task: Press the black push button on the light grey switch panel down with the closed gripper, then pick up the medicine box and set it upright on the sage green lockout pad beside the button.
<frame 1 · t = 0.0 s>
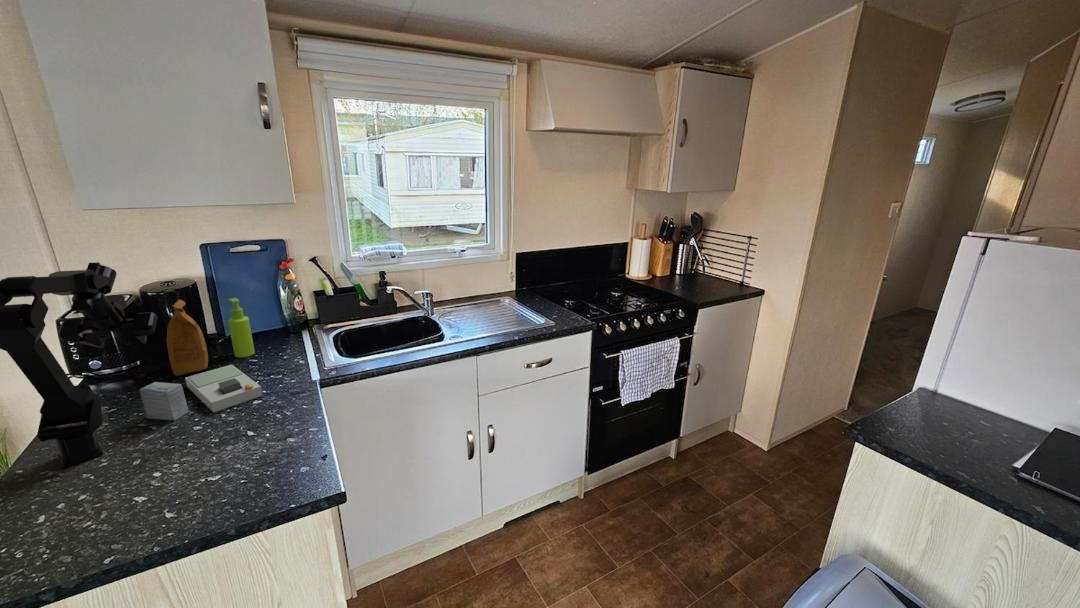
hand: (124, 344, 121), 15 cm above the worktop, tool tilted 35°, fingers open, 9 cm apart
switch panel: (224, 391, 127), on the worktop
soap dispenser: (244, 354, 152), on the worktop
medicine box: (168, 416, 114), on the worktop
amber trigger bottle: (192, 368, 141), on the worktop
push button: (230, 387, 123), point 3 cm above the worktop, slide at 0.0 cm
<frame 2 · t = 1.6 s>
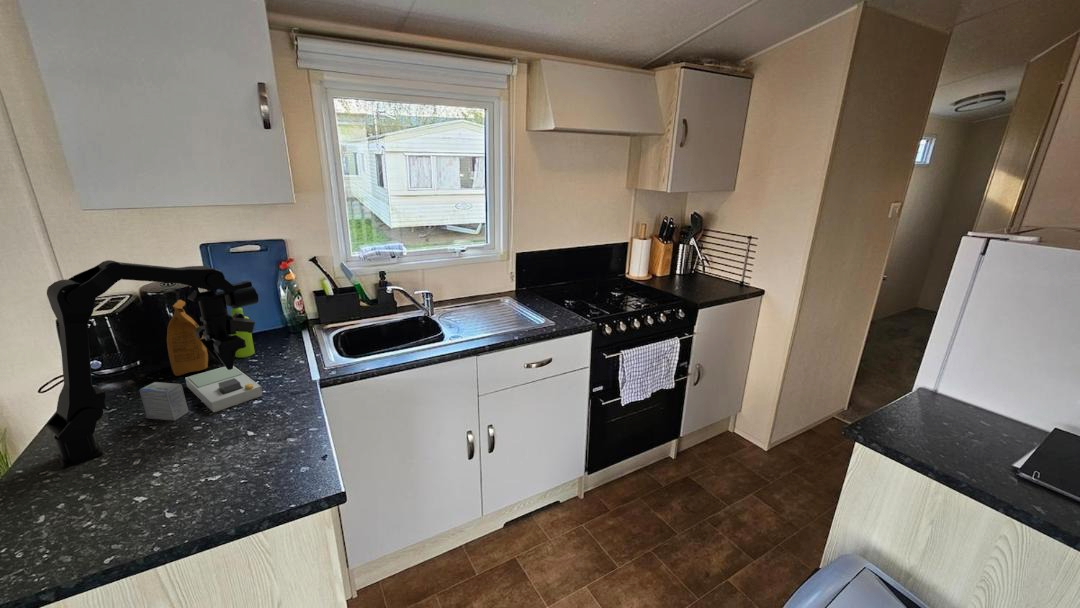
hand: (225, 365, 121), 10 cm above the worktop, tool pointing down, fingers open, 7 cm apart
nothing on the worktop moved.
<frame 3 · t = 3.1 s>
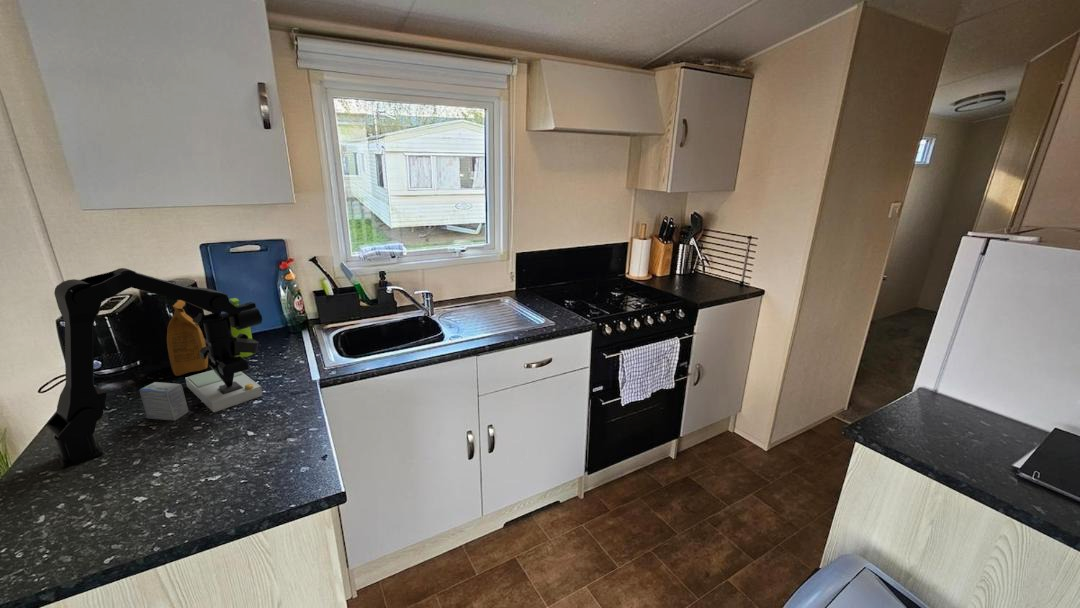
hand: (229, 386, 123), 4 cm above the worktop, tool pointing down, fingers closed, pressing on push button
push button: (230, 391, 123), point 2 cm above the worktop, slide at 1.0 cm, touching gripper
everything else where it was.
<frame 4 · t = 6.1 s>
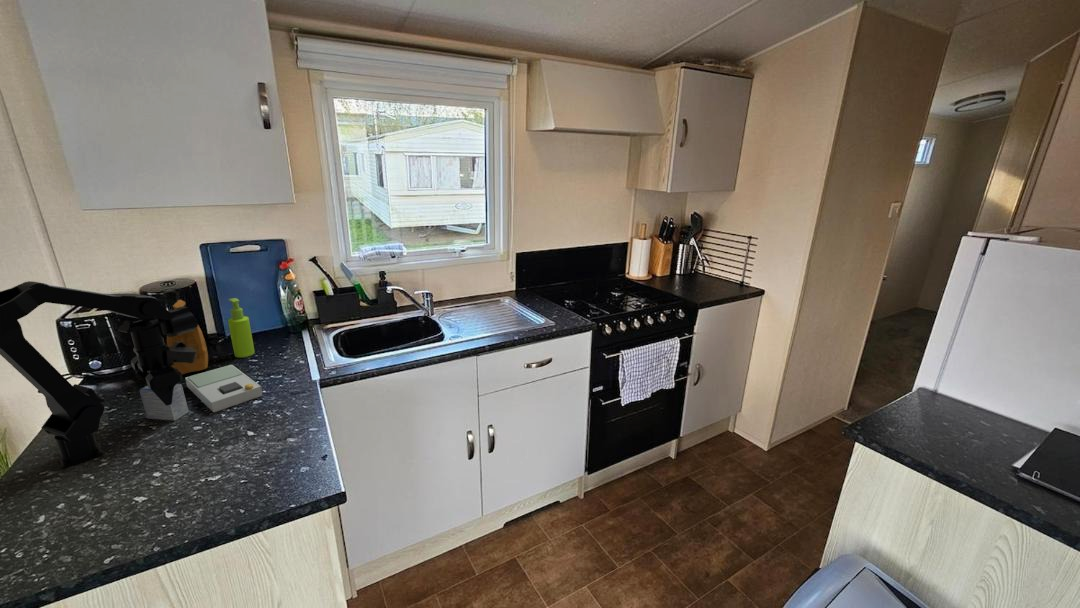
hand: (163, 398, 113), 5 cm above the worktop, tool pointing down, fingers open, 9 cm apart
push button: (230, 391, 123), point 2 cm above the worktop, slide at 1.2 cm
everything else where it was.
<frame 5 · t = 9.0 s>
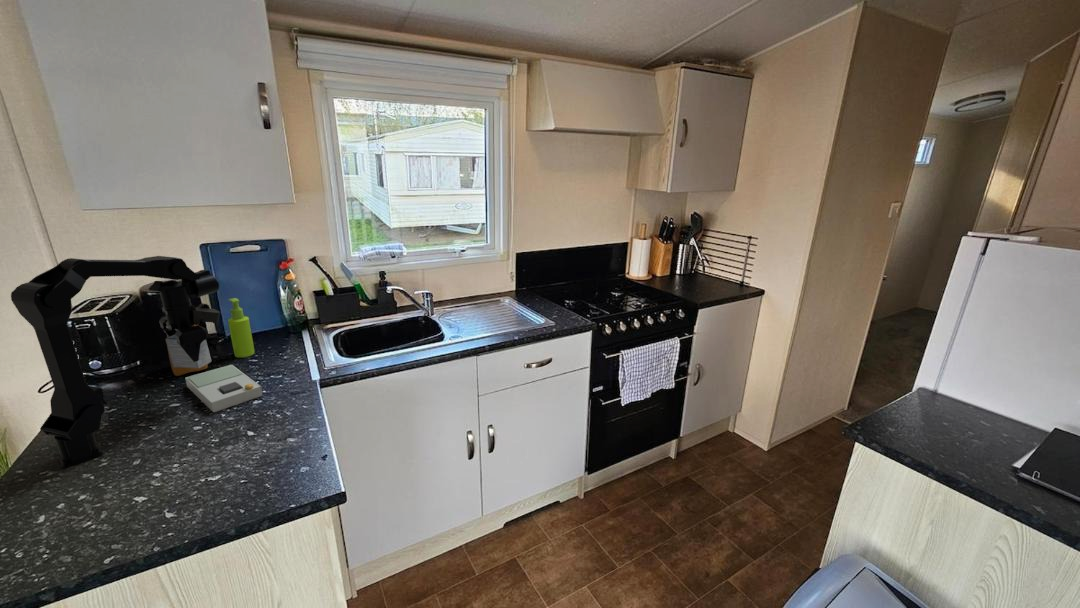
hand: (190, 356, 120), 13 cm above the worktop, tool pointing down, fingers closed on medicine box, 9 cm apart
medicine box: (192, 365, 121), point 10 cm above the worktop, touching gripper
everything else where it was.
when the fingers open (7 cm above the worktop, at t = 11.1 s): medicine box stays where it is, resting on switch panel.
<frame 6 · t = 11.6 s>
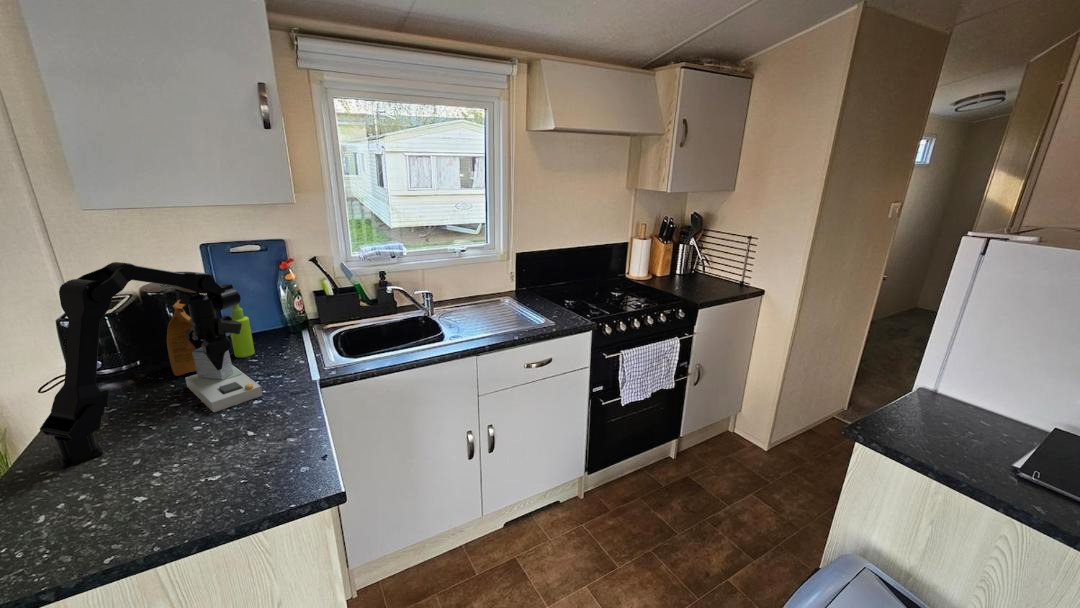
hand: (213, 365, 128), 7 cm above the worktop, tool pointing down, fingers open, 9 cm apart
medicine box: (216, 376, 129), point 3 cm above the worktop, touching switch panel
everything else where it was.
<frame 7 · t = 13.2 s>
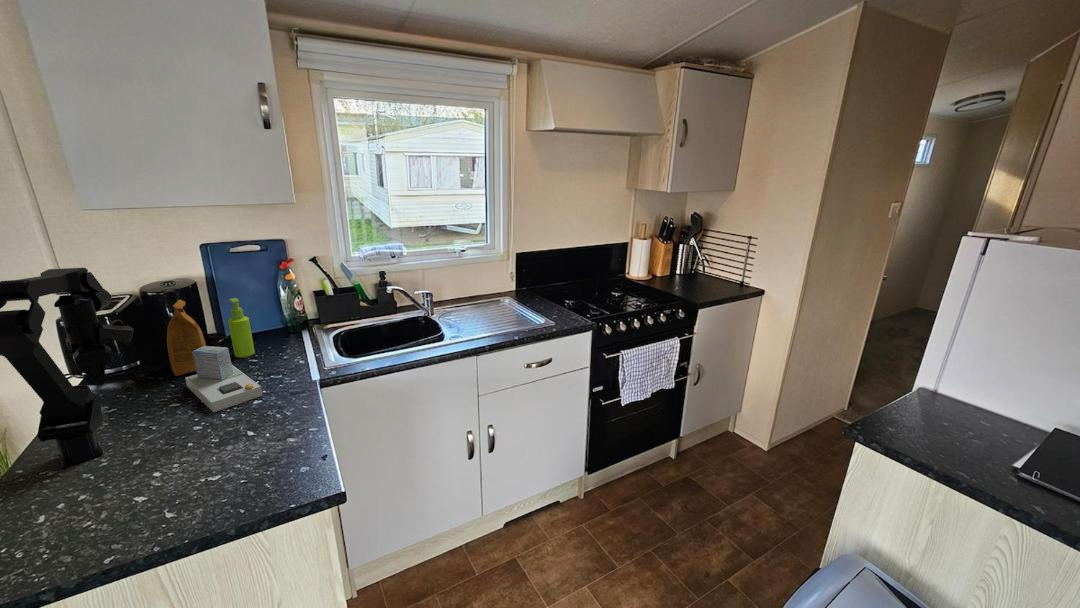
hand: (98, 379, 108), 12 cm above the worktop, tool pointing down, fingers open, 9 cm apart
nothing on the worktop moved.
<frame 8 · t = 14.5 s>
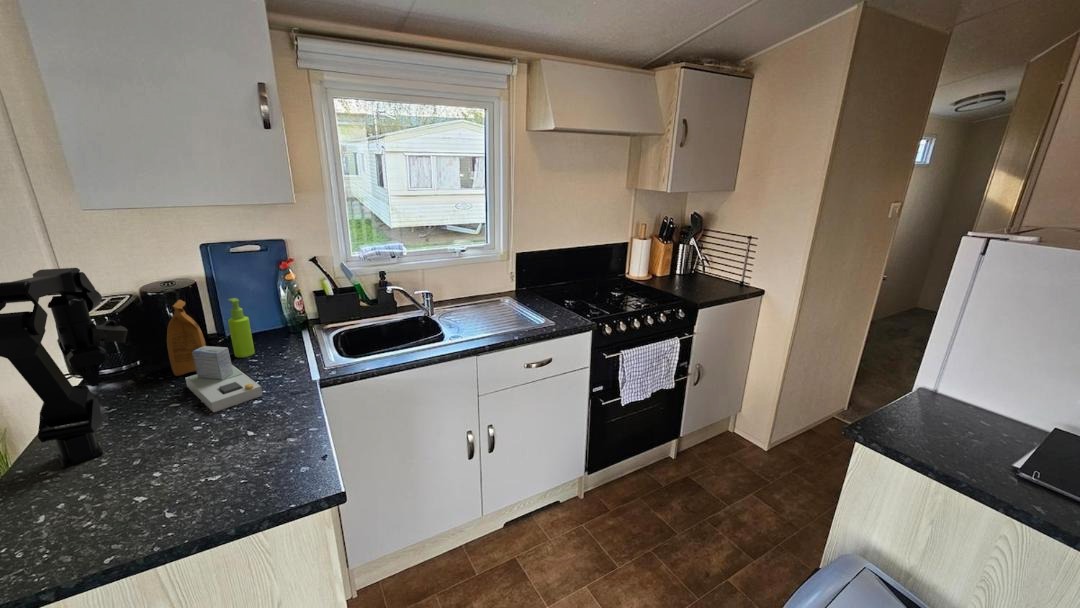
hand: (91, 379, 107), 12 cm above the worktop, tool pointing down, fingers open, 9 cm apart
nothing on the worktop moved.
at the end: push button slide at 1.2 cm; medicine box inside the target area on the switch panel (0.1 cm from its centre), point 3.1 cm above the switch panel's base; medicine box tilted 0° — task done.
